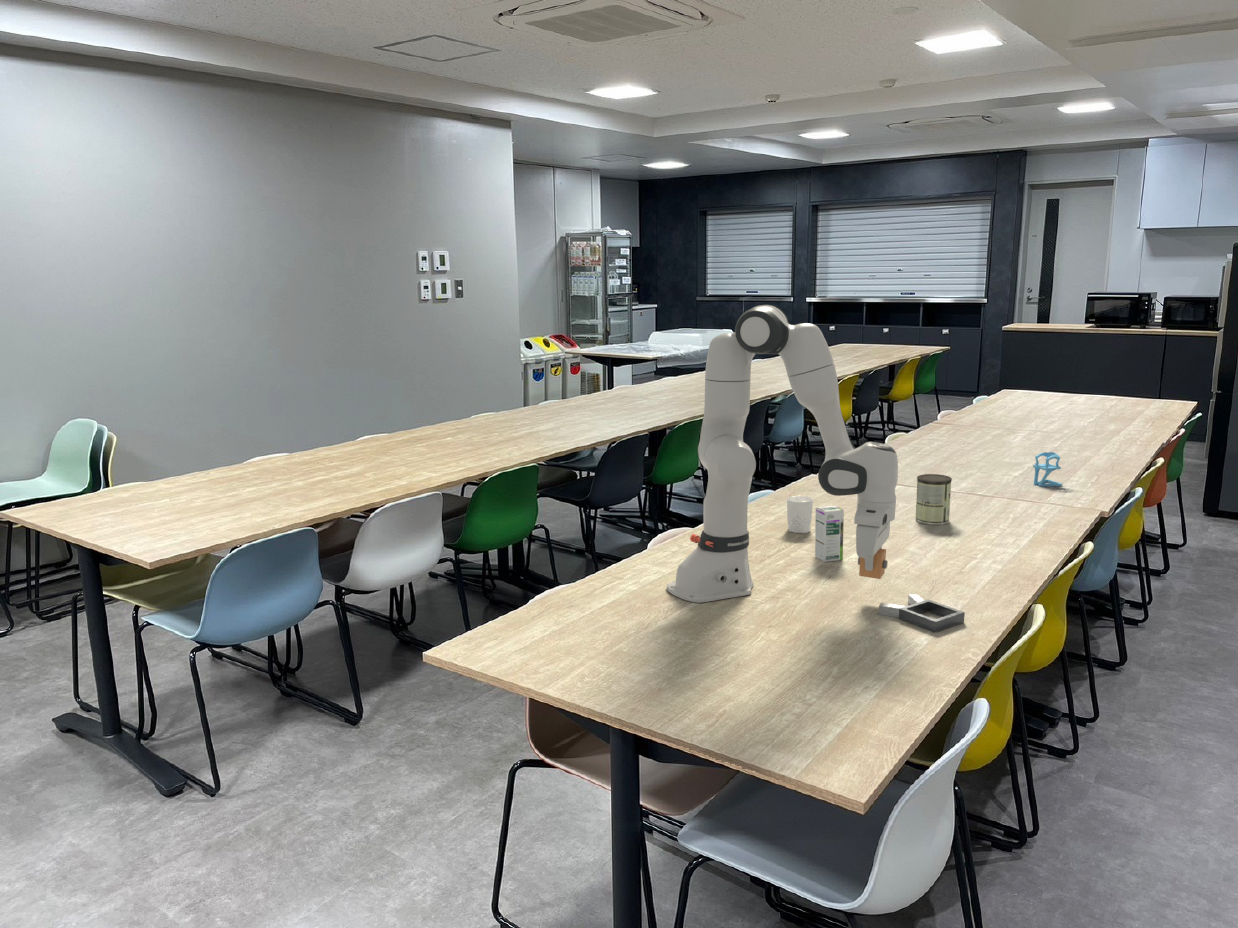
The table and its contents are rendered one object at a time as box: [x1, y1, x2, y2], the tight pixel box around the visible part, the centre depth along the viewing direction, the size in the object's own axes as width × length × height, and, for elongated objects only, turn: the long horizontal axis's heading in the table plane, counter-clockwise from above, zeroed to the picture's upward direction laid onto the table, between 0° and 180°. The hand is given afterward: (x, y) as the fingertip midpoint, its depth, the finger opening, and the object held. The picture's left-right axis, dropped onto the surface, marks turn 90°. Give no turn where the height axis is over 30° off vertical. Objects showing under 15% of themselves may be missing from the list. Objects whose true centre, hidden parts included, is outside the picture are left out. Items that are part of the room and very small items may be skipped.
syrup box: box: [814, 505, 845, 563], centre depth 249 cm, size 6×6×14 cm
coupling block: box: [857, 548, 889, 580], centre depth 217 cm, size 5×7×6 cm
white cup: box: [786, 495, 814, 534], centre depth 277 cm, size 8×8×10 cm
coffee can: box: [915, 473, 953, 526], centre depth 284 cm, size 10×10×14 cm
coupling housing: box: [878, 593, 965, 633], centre depth 207 cm, size 13×16×2 cm
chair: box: [1032, 451, 1063, 488], centre depth 328 cm, size 8×8×12 cm
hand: (872, 565), depth 217 cm, fingers closed on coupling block, 5 cm apart
